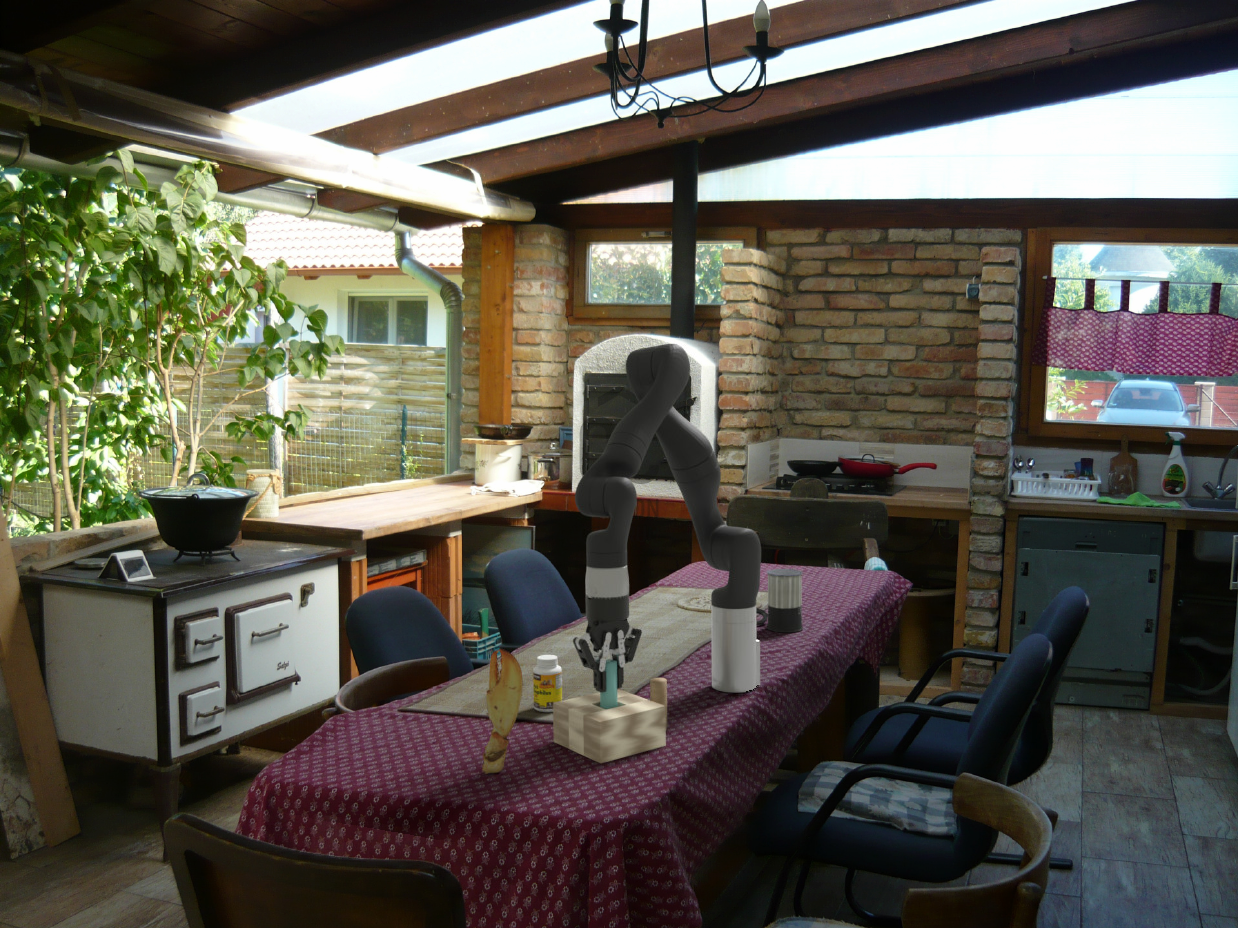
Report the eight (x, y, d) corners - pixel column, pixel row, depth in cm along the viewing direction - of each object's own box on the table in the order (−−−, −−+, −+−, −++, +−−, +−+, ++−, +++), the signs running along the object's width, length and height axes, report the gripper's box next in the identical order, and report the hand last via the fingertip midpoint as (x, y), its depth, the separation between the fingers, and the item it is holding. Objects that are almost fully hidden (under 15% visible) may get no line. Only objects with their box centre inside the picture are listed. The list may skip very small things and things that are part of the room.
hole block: (617, 725, 197) (616, 688, 197) (665, 745, 186) (665, 705, 186) (553, 741, 189) (553, 702, 188) (600, 763, 178) (600, 721, 177)
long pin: (611, 736, 190) (610, 658, 189) (621, 740, 187) (620, 661, 186) (597, 739, 188) (596, 661, 187) (607, 744, 186) (606, 664, 185)
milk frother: (805, 633, 269) (805, 574, 268) (742, 633, 270) (742, 575, 269) (797, 620, 284) (797, 565, 282) (737, 621, 284) (737, 565, 283)
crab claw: (527, 771, 175) (525, 650, 173) (507, 781, 170) (505, 656, 169) (494, 763, 178) (491, 644, 177) (473, 772, 174) (471, 651, 173)
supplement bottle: (528, 710, 207) (527, 658, 207) (544, 703, 212) (543, 652, 212) (552, 714, 205) (551, 661, 204) (567, 706, 210) (567, 655, 209)
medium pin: (660, 724, 198) (659, 676, 197) (670, 728, 195) (670, 680, 195) (647, 728, 196) (646, 679, 195) (657, 732, 194) (657, 683, 193)
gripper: (626, 583, 193) (627, 678, 194) (561, 593, 184) (563, 692, 186) (652, 589, 187) (653, 686, 188) (586, 599, 178) (588, 701, 180)
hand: (608, 688), depth 187 cm, fingers closed on long pin, 3 cm apart
